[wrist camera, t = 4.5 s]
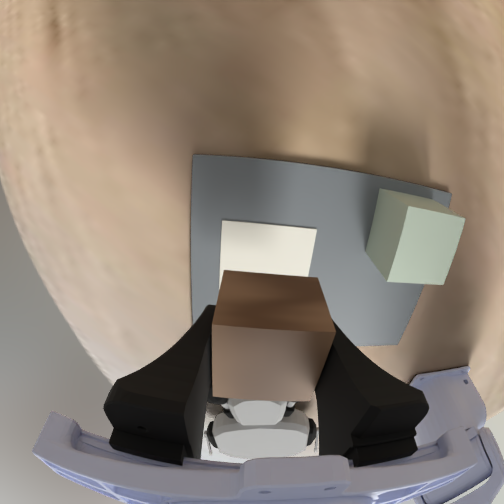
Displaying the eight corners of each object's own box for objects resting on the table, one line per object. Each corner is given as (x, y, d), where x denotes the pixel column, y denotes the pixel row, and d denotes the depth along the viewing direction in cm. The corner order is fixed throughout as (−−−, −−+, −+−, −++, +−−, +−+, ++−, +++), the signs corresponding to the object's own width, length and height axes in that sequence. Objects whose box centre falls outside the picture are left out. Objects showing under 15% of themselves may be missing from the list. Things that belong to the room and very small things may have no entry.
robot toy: (188, 347, 24) (214, 433, 30) (176, 381, 20) (209, 462, 25) (324, 341, 24) (313, 430, 29) (334, 377, 19) (317, 459, 25)
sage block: (432, 199, 16) (465, 218, 13) (416, 257, 18) (443, 284, 15) (379, 188, 16) (408, 206, 13) (365, 252, 18) (386, 281, 15)
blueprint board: (448, 192, 17) (452, 194, 16) (396, 341, 22) (397, 345, 22) (194, 154, 16) (192, 154, 16) (194, 333, 22) (193, 337, 22)
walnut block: (317, 277, 13) (336, 332, 10) (301, 344, 15) (309, 401, 12) (223, 269, 13) (211, 324, 10) (221, 339, 15) (212, 396, 12)
